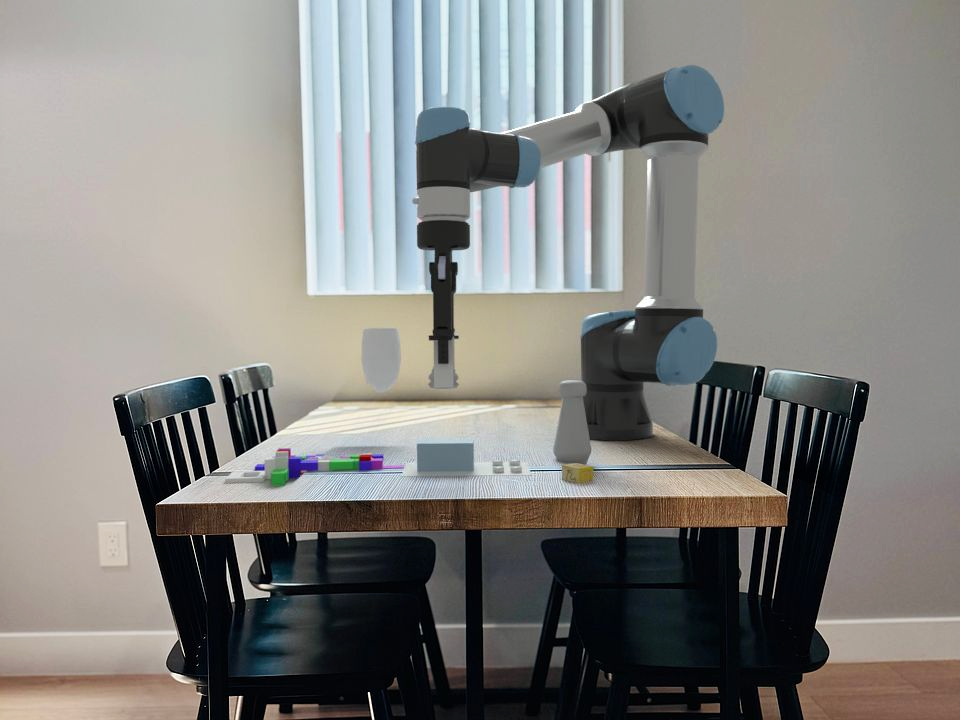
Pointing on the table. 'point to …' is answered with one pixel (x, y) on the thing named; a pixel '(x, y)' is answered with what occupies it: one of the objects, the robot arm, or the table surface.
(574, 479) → the alphabet block
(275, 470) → the building block set
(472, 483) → the table surface
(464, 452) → the blue brick
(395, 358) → the cup
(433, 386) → the rook chess piece
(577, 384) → the salt shaker
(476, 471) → the build plate
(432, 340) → the robot arm
